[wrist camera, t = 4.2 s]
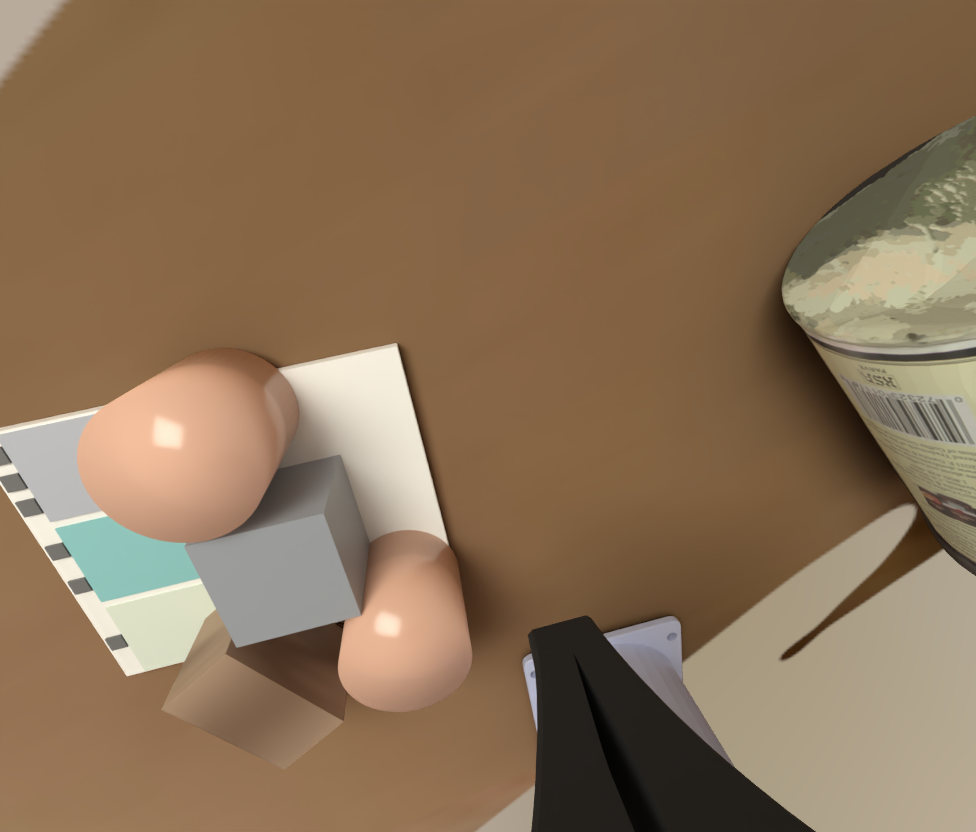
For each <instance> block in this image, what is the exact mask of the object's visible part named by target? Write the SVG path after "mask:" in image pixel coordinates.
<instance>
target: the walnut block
mask: <svg viewBox="0 0 976 832" xmlns="http://www.w3.org/2000/svg"><path fill="white" fill-rule="evenodd" d="M342 635H343V628H341V627H340V626H338V625H337V624H335V623H331V624H327V625H323V626H319V627H315V628H312V629H308V630H304V631H300V632H296V633H292V634H288V635H284V636H281V637H277V638H273V639H269V640H265V641H261V642H257V643H253V644H249V645H246V646H242V647H238V648H236V646H235V644H234V642H233V640H232V638H231V636H230V635H229V633H228V631H227V629H226V627H225V625H224V623H223V621H222V619H221V617H220V615H219V613H218V611H217V610H214V611H213V612H212V613H211V614H210V615H209V616H208V617H207V618H205V620H204V622H203V625H202V627H201V629H200V631H199V633H198V635H197V637H196V639H195V641H194V643H193V645H192V647H191V649H190V651H189V653H188V655H187V657H186V660H185V662H184V664H183V666H182V668H181V670H180V672H179V674H178V676H177V678H176V680H175V682H174V684H173V686H172V688H171V690H170V692H169V695H168V697H167V699H166V701H165V703H164V705H163V707H162V709H161V710H163V711H165V712H167V713H169V714H171V715H173V716H175V717H177V718H179V719H181V720H183V721H185V722H188V723H190V724H192V725H194V726H196V727H198V728H200V729H202V730H204V731H206V732H208V733H210V734H212V735H214V736H216V737H218V738H220V739H222V740H224V741H226V742H228V743H230V744H232V745H235V746H237V747H239V748H241V749H243V750H245V751H247V752H249V753H251V754H253V755H255V756H257V757H259V758H261V759H263V760H265V761H267V762H269V763H271V764H273V765H275V766H277V767H279V768H281V769H284V770H285V769H286V768H287V767H289V766H290V765H291V764H292V763H293V762H295V761H296V760H297V759H298V758H300V757H301V756H302V755H303V754H304V753H306V752H307V751H308V750H309V749H311V748H312V747H313V746H314V745H316V744H317V743H318V742H319V741H320V740H322V739H323V738H324V737H325V736H327V735H328V734H329V733H330V732H331V731H333V730H334V729H335V728H336V727H338V726H339V725H340V724H341V723H342V722H344V714H345V704H346V694H347V691H346V690H345V688H344V687H343V685H342V683H341V681H340V678H339V673H338V661H339V654H340V648H341V641H342Z"/></svg>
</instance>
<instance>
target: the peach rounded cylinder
mask: <svg viewBox="0 0 976 832" xmlns="http://www.w3.org/2000/svg"><path fill="white" fill-rule="evenodd" d="M471 663H472V649H471V642H470V636H469V630H468V623H467V617H466V611H465V605H464V598H463V592H462V586H461V579H460V573H459V567H458V561H457V558H456V556H455V554H454V552H453V550H452V549H451V548H450V546H448V545H447V544H446V543H445V542H444V541H443V540H441V539H440V538H438V537H436V536H435V535H432V534H430V533H426V532H423V531H417V530H401V531H395V532H391V533H388V534H385V535H383V536H380V537H378V538H377V539H375V540H373V541H372V542H370V543H369V552H368V561H367V569H366V578H365V587H364V596H363V605H362V614H361V616H358V617H354V618H350V619H346V620H345V622H344V628H343V635H342V641H341V648H340V654H339V661H338V673H339V678H340V681H341V683H342V685H343V687H344V688H345V690H346V691H347V692H348V693H349V694H350V695H351V696H352V697H353V698H354V699H356V700H357V701H358V702H360V703H362V704H364V705H366V706H368V707H371V708H374V709H378V710H382V711H389V712H406V711H413V710H418V709H422V708H425V707H428V706H431V705H433V704H436V703H438V702H440V701H441V700H443V699H445V698H446V697H448V696H449V695H451V694H452V693H453V692H454V691H455V690H456V689H457V688H458V687H459V686H460V685H461V684H462V683H463V681H464V680H465V678H466V676H467V675H468V673H469V670H470V667H471Z"/></svg>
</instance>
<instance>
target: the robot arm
mask: <svg viewBox="0 0 976 832" xmlns="http://www.w3.org/2000/svg"><path fill="white" fill-rule="evenodd" d="M528 638H529V643H530V648H531V654H529V655H527V656H526V657H525V658H524V659H523V663H522V664H523V669H524V673H525V678H526V683H527V688H528V692H529V697H530V702H531V707H532V711H533V716H534V721H535V726H536V730H537V756H536V781H535V795H534V809H533V821H532V830H531V832H815V831H814V830H813V829H811V828H810V827H808V826H807V825H806V824H805V823H803V822H802V821H801V820H799V819H798V818H797V817H795V816H794V815H792V814H791V813H790V812H788V811H787V810H786V809H784V808H783V807H782V806H781V805H780V804H778V803H777V802H776V801H775V800H773V799H772V798H771V797H770V796H768V795H767V794H766V793H765V792H763V791H762V790H761V789H760V788H759V787H757V786H756V785H755V784H754V783H752V782H751V781H750V780H749V779H748V778H746V777H745V776H744V775H743V774H742V773H741V772H739V771H738V770H737V769H736V768H735V767H734V765H733V764H732V763H731V760H730V759H729V757H728V756H727V754H726V752H725V751H724V749H723V748H722V746H721V744H720V742H719V741H718V739H717V738H716V736H715V734H714V733H713V731H712V729H711V728H710V726H709V724H708V723H707V721H706V720H705V718H704V716H703V715H702V713H701V711H700V710H699V708H698V706H697V705H696V703H695V702H694V700H693V698H692V697H691V695H690V693H689V692H688V690H687V688H686V687H685V685H684V684H683V678H682V646H681V625H680V622H679V621H678V620H677V618H676V617H674V616H667V617H663V618H660V619H656V620H652V621H649V622H645V623H641V624H638V625H634V626H630V627H627V628H623V629H619V630H616V631H612V632H608V633H605V634H603V633H602V632H601V631H600V629H599V628H598V627H597V626H596V624H595V623H594V621H593V620H592V619H591V618H590V617H588V616H582V617H578V618H574V619H571V620H567V621H563V622H560V623H556V624H552V625H548V626H545V627H541V628H537V629H533V630H532V631H531V632H530V633H529V634H528Z"/></svg>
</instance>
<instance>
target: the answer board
mask: <svg viewBox="0 0 976 832" xmlns="http://www.w3.org/2000/svg"><path fill="white" fill-rule="evenodd" d="M277 369H278V370H279V371H280V372H281V373H282V374H283V376H284V377H285V378H286V379H287V381H288V382H289V384H290V385H291V387H292V389H293V391H294V393H295V395H296V398H297V401H298V405H299V425H298V429H297V432H296V435H295V437H294V439H293V441H292V443H291V444H290V446H289V448H288V450H287V452H286V454H285V456H284V458H283V460H282V461H281V463H280V465H279V467H278V469H280V468H284V467H288V466H293V465H297V464H301V463H306V462H310V461H314V460H319V459H323V458H327V457H332V456H336V455H341V458H342V461H343V464H344V467H345V470H346V473H347V476H348V479H349V482H350V485H351V488H352V491H353V494H354V497H355V500H356V503H357V506H358V509H359V512H360V515H361V518H362V521H363V524H364V527H365V530H366V533H367V536H368V539H369V542H372V541H373V540H375V539H377V538H378V537H380V536H383V535H385V534H388V533H391V532H395V531H401V530H417V531H423V532H426V533H430V534H432V535H435V536H436V537H438V538H440V539H441V540H443V541H444V542H445V543H446V544H447V545H448V546H449V542H448V538H447V534H446V531H445V527H444V523H443V519H442V515H441V511H440V507H439V503H438V500H437V496H436V492H435V488H434V484H433V480H432V476H431V472H430V469H429V465H428V461H427V457H426V453H425V449H424V445H423V441H422V438H421V434H420V430H419V426H418V422H417V418H416V414H415V410H414V407H413V403H412V399H411V395H410V391H409V387H408V383H407V379H406V376H405V372H404V368H403V364H402V360H401V356H400V352H399V348H398V345H397V343H394V344H390V345H385V346H380V347H375V348H371V349H366V350H361V351H357V352H352V353H347V354H343V355H338V356H333V357H329V358H324V359H319V360H315V361H310V362H305V363H301V364H296V365H291V366H287V367H282V368H277ZM105 406H106V405H105ZM103 407H104V406H100V407H95V408H91V409H86V410H81V411H77V412H72V413H67V414H63V415H58V416H53V417H49V418H44V419H39V420H34V421H30V422H25V423H20V424H16V425H11V426H6V427H2V428H0V485H1V486H2V488H3V489H4V491H5V492H6V494H7V495H8V497H9V498H10V500H11V501H12V503H13V504H14V506H15V507H16V509H17V510H18V512H19V514H20V515H21V517H22V518H23V520H24V521H25V523H26V524H27V526H28V527H29V529H30V530H31V532H32V533H33V535H34V536H35V538H36V539H37V541H38V542H39V544H40V545H41V547H42V548H43V550H44V551H45V553H46V554H47V556H48V557H49V559H50V560H51V562H52V563H53V565H54V566H55V568H56V570H57V571H58V573H59V574H60V576H61V577H62V579H63V580H64V582H65V583H66V585H67V586H68V588H69V589H70V591H71V592H72V594H73V595H74V597H75V598H76V600H77V601H78V603H79V604H80V606H81V607H82V609H83V610H84V612H85V613H86V615H87V616H88V618H89V619H90V621H91V623H92V624H93V626H94V627H95V629H96V630H97V632H98V633H99V635H100V636H101V638H102V639H103V641H104V642H105V644H106V645H107V647H108V648H109V650H110V651H111V653H112V654H113V656H114V657H115V659H116V660H117V662H118V663H119V665H120V666H121V668H122V669H123V671H124V672H125V674H126V675H127V676H130V675H134V674H138V673H141V672H145V671H149V670H153V669H157V668H161V667H165V666H169V665H172V664H176V663H180V662H184V661H185V660H186V657H187V655H188V653H189V651H190V649H191V647H192V645H193V643H194V641H195V639H196V637H197V635H198V633H199V631H200V629H201V627H202V625H203V622H204V620H205V618H207V617H208V616H209V615H210V614H211V613H212V612H213V611H214V610H216V608H215V606H214V604H213V602H212V600H211V598H210V596H209V594H208V592H207V590H206V588H205V586H204V585H203V583H202V581H201V579H200V577H199V575H198V573H197V571H196V569H195V567H194V565H193V563H192V562H191V560H190V558H189V556H188V554H187V552H186V550H185V548H184V546H185V545H186V543H174V542H166V541H160V540H156V539H152V538H149V537H145V536H142V535H140V534H137V533H135V532H133V531H131V530H129V529H127V528H125V527H123V526H122V525H120V524H118V523H117V522H115V521H114V520H113V519H111V518H110V517H109V516H108V515H106V514H105V513H104V512H103V511H102V510H101V509H100V508H99V507H98V506H97V505H96V503H95V502H94V501H93V500H92V498H91V497H90V495H89V494H88V492H87V491H86V489H85V487H84V485H83V483H82V480H81V477H80V474H79V471H78V464H77V449H78V443H79V439H80V437H81V434H82V432H83V430H84V428H85V426H86V425H87V423H88V422H89V420H90V419H91V418H92V417H93V416H94V415H95V414H96V413H97V412H98V411H99V410H100V409H101V408H103Z"/></svg>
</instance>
